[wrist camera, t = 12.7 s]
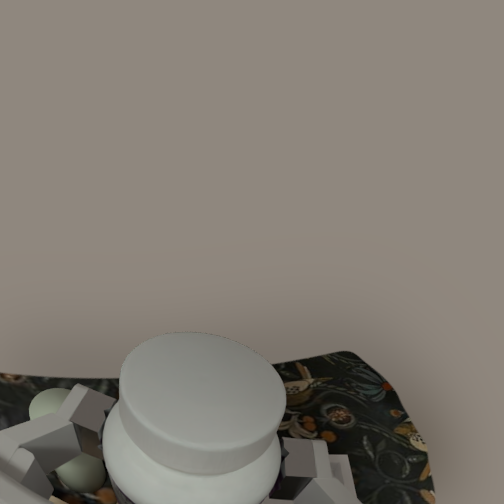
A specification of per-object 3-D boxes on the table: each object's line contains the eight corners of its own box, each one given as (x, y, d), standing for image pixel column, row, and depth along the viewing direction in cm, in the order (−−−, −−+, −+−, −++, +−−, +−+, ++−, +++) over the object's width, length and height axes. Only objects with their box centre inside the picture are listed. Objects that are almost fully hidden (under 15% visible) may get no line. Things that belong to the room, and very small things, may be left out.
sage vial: (50, 479, 15) (18, 419, 12) (68, 445, 19) (48, 379, 16) (97, 500, 15) (75, 450, 12) (112, 463, 19) (100, 402, 16)
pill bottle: (195, 455, 13) (231, 305, 10) (260, 527, 10) (357, 404, 7) (102, 485, 10) (67, 328, 7) (160, 575, 6) (159, 520, 3)
